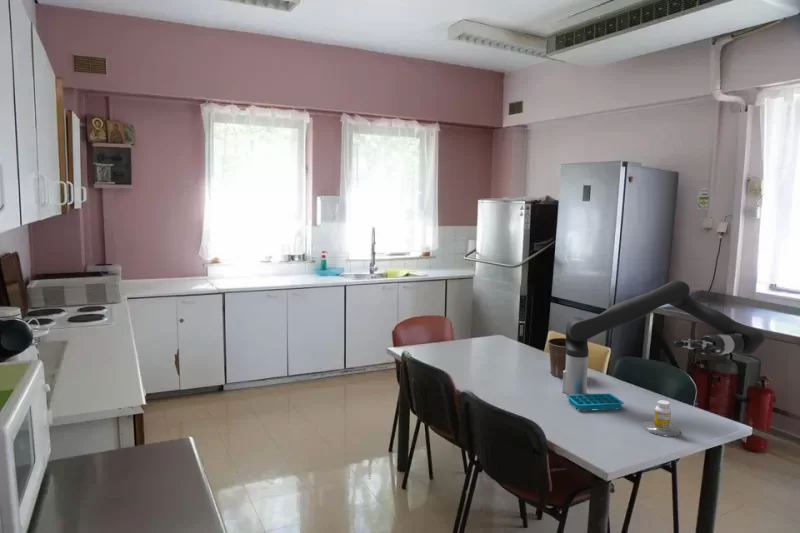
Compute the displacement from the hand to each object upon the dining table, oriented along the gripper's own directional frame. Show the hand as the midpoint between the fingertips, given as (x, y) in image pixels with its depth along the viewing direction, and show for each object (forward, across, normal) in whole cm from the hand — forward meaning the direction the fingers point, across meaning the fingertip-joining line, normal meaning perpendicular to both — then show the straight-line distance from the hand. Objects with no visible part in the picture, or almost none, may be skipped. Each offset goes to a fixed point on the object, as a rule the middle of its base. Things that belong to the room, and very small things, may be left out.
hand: (683, 347), depth 202 cm
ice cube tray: (+18, -26, +31) cm, 44 cm away
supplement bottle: (+9, +1, +29) cm, 31 cm away
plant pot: (+7, -63, +30) cm, 70 cm away
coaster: (+9, +2, +30) cm, 31 cm away
